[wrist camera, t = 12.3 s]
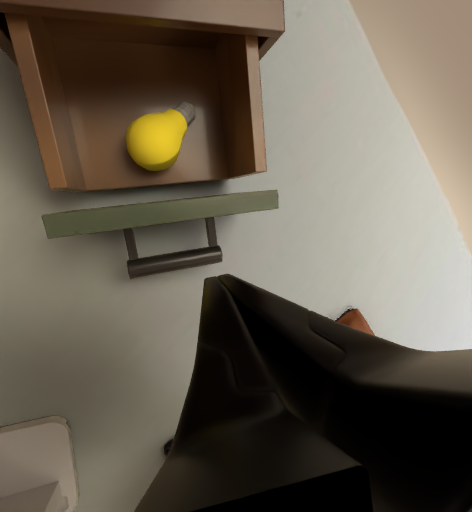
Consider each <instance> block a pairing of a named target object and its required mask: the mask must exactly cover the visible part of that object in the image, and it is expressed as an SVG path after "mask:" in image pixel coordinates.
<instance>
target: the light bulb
mask: <svg viewBox="0 0 472 512" xmlns="http://www.w3.org/2000/svg"><path fill="white" fill-rule="evenodd" d="M195 117H196V114H195V108H194V106H193V105H192V104H189V103H187V102H185V101H183V102H181V103H180V104H179V105H178V106H177V107H175V109H169V110H166V111H165V112H163V113H152V114H146V115H144V116H142V117H139V118H138V119H136V120H134V121H132V123H131V124H130V125H129V127H128V129H127V132H126V144H127V150H128V152H129V154H130V156H131V157H132V159H133V160H134V161H135V162H136V163H137V164H138V165H140V166H141V167H143V168H145V169H147V170H151V171H158V170H164V169H168V168H169V167H171V166H172V165H174V164H175V162H176V161H177V159H178V157H179V153H180V149H181V144H182V139H183V138H184V136H185V135H186V133H187V126H189V124H190V123H192V122H193V120H195Z"/></svg>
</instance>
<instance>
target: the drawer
mask: <svg viewBox="0 0 472 512" xmlns="http://www.w3.org/2000/svg"><path fill="white" fill-rule="evenodd" d="M4 14H5V18H6V22H7V26H8V29H9V33H10V37H11V41H12V45H13V49H14V53H15V57H16V60H17V64H18V68H19V72H20V76H21V80H22V84H23V87H24V91H25V95H26V99H27V103H28V107H29V111H30V114H31V118H32V122H33V126H34V130H35V134H36V138H37V142H38V145H39V149H40V153H41V157H42V161H43V165H44V169H45V172H46V176H47V180H48V184H49V188H50V189H54V190H62V191H69V192H77V193H78V192H89V191H101V190H112V189H123V188H135V187H146V186H158V185H169V184H180V183H192V182H203V181H215V180H226V179H235V178H240V177H244V176H248V175H253V174H257V173H262V172H266V171H267V167H266V153H265V138H264V123H263V109H262V94H261V80H260V65H259V51H258V36H252V35H242V34H231V33H220V32H209V31H198V30H187V29H176V28H166V27H155V26H144V25H133V24H122V23H111V22H101V21H90V20H79V19H68V18H57V17H46V16H35V15H25V14H14V13H4ZM183 101H185V102H187V103H189V104H192V105H193V106H194V108H195V114H196V117H195V120H193V122H192V123H190V124H189V126H187V133H186V135H185V136H184V138H183V139H182V144H181V149H180V153H179V157H178V159H177V161H176V162H175V164H174V165H172V166H171V167H169V168H168V169H164V170H158V171H151V170H147V169H145V168H143V167H141V166H140V165H138V164H137V163H136V162H135V161H134V160H133V159H132V157H131V156H130V154H129V152H128V150H127V144H126V132H127V129H128V127H129V125H130V124H131V123H132V121H134V120H136V119H138V118H139V117H142V116H144V115H146V114H152V113H163V112H165V111H166V110H169V109H175V107H177V106H178V105H179V104H180V103H181V102H183ZM278 208H279V207H278V191H277V190H268V191H255V192H243V193H233V194H223V195H214V196H204V197H195V198H185V199H176V200H166V201H157V202H147V203H138V204H129V205H119V206H110V207H100V208H91V209H81V210H72V211H65V212H59V213H52V214H46V215H42V219H43V223H44V227H45V230H46V234H47V238H48V239H50V238H58V237H65V236H73V235H81V234H88V233H96V232H103V231H111V230H119V229H123V231H124V236H125V241H126V246H127V250H128V255H129V260H127V267H128V273H129V277H130V279H134V278H139V277H145V276H150V275H155V274H161V273H166V272H171V271H177V270H182V269H187V268H193V267H198V266H203V265H208V264H214V263H219V262H222V251H221V248H220V246H219V245H217V238H216V230H215V221H214V217H217V216H225V215H232V214H240V213H248V212H255V211H263V210H270V209H278ZM202 218H205V221H206V229H207V237H208V245H209V246H210V247H204V248H198V249H192V250H186V251H180V252H174V253H168V254H162V255H156V256H150V257H144V258H138V254H137V249H136V243H135V238H134V233H133V228H134V227H141V226H149V225H157V224H164V223H172V222H179V221H187V220H194V219H202Z"/></svg>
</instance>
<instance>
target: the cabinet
mask: <svg viewBox="0 0 472 512" xmlns="http://www.w3.org/2000/svg"><path fill="white" fill-rule="evenodd" d="M4 13H14V14H25V15H35V16H46V17H57V18H68V19H79V20H90V21H101V22H111V23H122V24H133V25H144V26H155V27H166V28H176V29H187V30H198V31H209V32H220V33H231V34H242V35H252V36H258V51H259V61H260V60H261V58H262V57H263V56H264V55H265V54H266V53H267V51H268V50H269V49H270V48H271V47H272V46H273V45H274V43H275V42H276V41H277V40H278V39H279V37H280V36H281V35H282V34H283V33H284V32H285V22H284V1H283V0H0V47H1V48H2V49H3V51H4V52H5V53H6V54H7V55H8V56H9V57H10V58H11V59H12V61H13V62H14V63H15V64H16V65H17V66H18V64H17V60H16V57H15V53H14V49H13V45H12V41H11V37H10V33H9V29H8V26H7V22H6V18H5V14H4Z"/></svg>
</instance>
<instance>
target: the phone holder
mask: <svg viewBox="0 0 472 512" xmlns="http://www.w3.org/2000/svg"><path fill="white" fill-rule="evenodd" d="M66 421H67V420H66V419H65V418H63V417H59V416H50V417H45V418H41V419H36V420H32V421H27V422H23V423H18V424H14V425H9V426H5V427H0V512H72V511H73V510H74V509H75V508H76V506H77V502H78V497H79V488H78V481H77V473H76V466H75V458H74V451H73V444H72V436H71V429H70V427H68V425H67V424H66Z"/></svg>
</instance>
